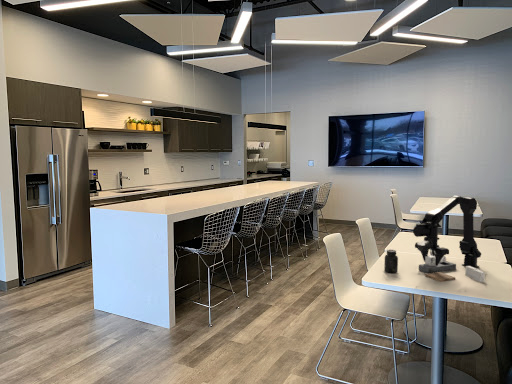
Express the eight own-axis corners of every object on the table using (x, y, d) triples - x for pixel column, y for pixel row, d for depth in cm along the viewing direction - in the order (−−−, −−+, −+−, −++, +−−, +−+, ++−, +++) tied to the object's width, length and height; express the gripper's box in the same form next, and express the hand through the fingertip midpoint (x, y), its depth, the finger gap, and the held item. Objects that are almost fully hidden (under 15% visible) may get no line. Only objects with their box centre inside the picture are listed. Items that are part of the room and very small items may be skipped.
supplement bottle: (382, 270, 209) (382, 249, 208) (394, 270, 210) (394, 248, 209) (387, 274, 203) (388, 252, 202) (399, 274, 203) (400, 252, 202)
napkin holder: (461, 274, 205) (461, 263, 204) (485, 277, 199) (486, 266, 199) (461, 282, 191) (462, 271, 191) (488, 285, 186) (488, 274, 186)
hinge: (442, 265, 220) (436, 248, 221) (434, 266, 222) (428, 250, 223) (446, 258, 234) (440, 242, 235) (438, 260, 237) (432, 244, 237)
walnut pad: (439, 273, 203) (439, 272, 203) (455, 279, 194) (455, 277, 194) (425, 276, 200) (425, 274, 200) (440, 281, 190) (440, 279, 190)
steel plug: (430, 269, 211) (430, 255, 211) (436, 271, 208) (436, 257, 207) (424, 270, 210) (425, 256, 209) (430, 272, 206) (431, 257, 206)
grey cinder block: (445, 266, 218) (445, 261, 217) (456, 269, 211) (456, 264, 211) (418, 270, 210) (418, 264, 210) (428, 273, 204) (428, 268, 203)
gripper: (407, 233, 213) (406, 260, 214) (434, 240, 195) (433, 269, 197) (423, 232, 217) (421, 258, 218) (450, 238, 200) (449, 267, 201)
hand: (430, 263), depth 208 cm, fingers open, 8 cm apart
